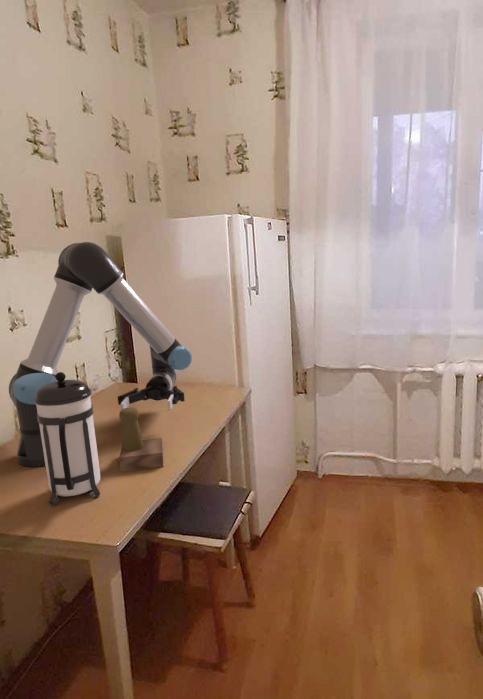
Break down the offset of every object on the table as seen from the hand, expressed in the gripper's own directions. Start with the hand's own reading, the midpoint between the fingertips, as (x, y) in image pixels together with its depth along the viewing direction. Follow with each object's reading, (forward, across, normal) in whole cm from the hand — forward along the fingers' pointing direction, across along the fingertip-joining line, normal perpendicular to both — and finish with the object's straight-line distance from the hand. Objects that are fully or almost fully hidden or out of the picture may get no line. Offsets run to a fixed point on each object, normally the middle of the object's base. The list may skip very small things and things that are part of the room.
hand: (145, 406), depth 145 cm
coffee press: (+27, +12, -12) cm, 32 cm away
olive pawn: (+9, +2, -8) cm, 13 cm away
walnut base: (+10, 0, -12) cm, 16 cm away
